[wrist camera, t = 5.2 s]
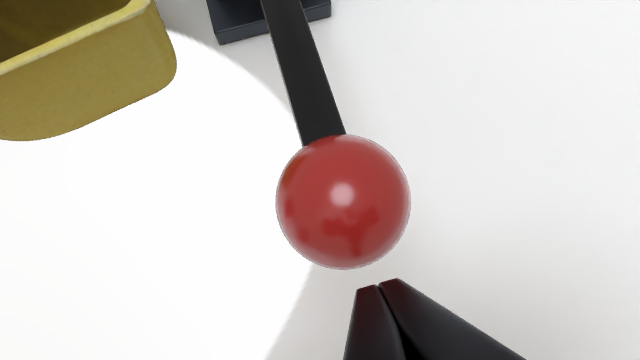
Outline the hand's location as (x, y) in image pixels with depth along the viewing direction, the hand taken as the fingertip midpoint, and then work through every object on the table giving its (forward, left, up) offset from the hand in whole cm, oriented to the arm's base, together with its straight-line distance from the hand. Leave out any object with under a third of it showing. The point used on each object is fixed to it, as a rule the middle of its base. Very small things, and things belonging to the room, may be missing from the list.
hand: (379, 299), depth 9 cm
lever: (+8, -5, -6) cm, 11 cm away
